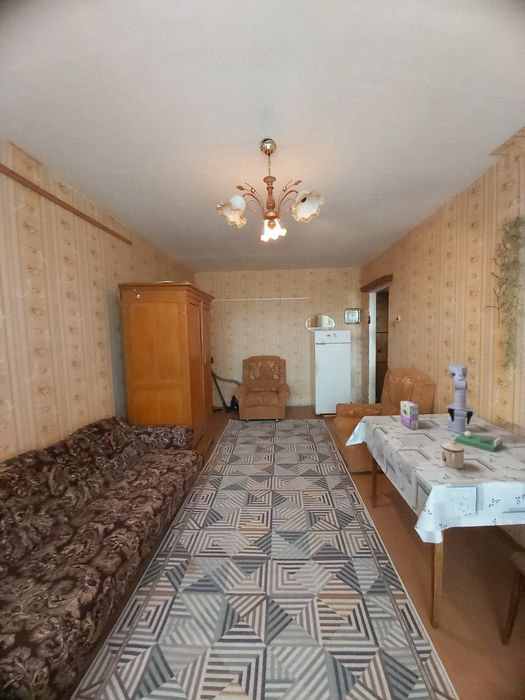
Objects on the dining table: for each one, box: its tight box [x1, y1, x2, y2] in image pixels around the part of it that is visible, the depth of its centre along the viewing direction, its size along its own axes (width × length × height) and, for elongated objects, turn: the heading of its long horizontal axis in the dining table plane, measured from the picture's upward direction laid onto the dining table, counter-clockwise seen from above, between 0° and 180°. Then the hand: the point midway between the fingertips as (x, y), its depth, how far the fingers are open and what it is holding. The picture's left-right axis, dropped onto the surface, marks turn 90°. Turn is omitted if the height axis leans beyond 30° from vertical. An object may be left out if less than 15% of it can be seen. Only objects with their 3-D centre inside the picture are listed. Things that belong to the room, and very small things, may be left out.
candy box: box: [399, 400, 420, 430], centre depth 191 cm, size 14×6×16 cm, turn 179°
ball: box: [464, 430, 473, 437], centre depth 162 cm, size 4×4×4 cm
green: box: [454, 433, 503, 453], centre depth 157 cm, size 18×14×5 cm
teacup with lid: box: [441, 440, 465, 469], centre depth 133 cm, size 12×9×12 cm
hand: (460, 422), depth 166 cm, fingers open, 7 cm apart
